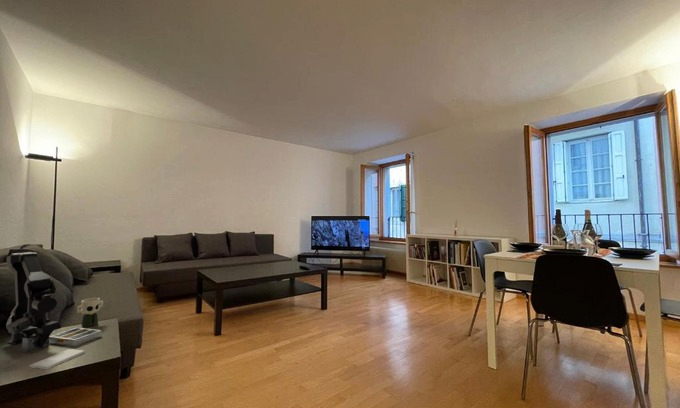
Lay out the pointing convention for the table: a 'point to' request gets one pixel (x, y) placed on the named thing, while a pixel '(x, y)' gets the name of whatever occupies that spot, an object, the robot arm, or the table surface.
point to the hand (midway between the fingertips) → (35, 346)
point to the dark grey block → (32, 344)
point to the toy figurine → (90, 311)
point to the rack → (74, 336)
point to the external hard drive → (57, 359)
